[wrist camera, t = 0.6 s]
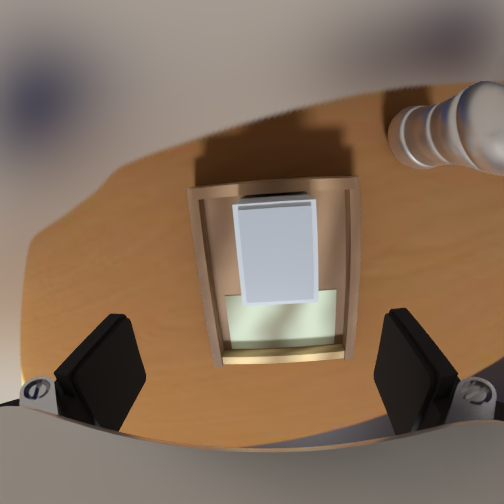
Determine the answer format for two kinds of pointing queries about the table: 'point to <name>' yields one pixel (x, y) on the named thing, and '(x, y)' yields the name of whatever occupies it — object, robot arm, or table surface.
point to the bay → (281, 315)
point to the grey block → (277, 248)
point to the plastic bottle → (453, 131)
